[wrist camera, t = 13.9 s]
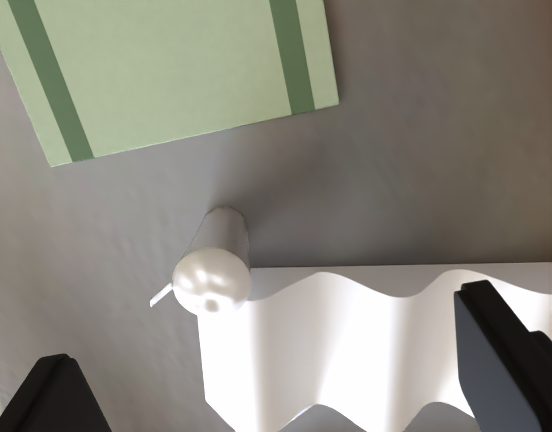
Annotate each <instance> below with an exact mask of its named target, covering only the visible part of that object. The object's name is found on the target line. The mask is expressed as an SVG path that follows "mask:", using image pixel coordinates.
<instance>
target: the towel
mask: <svg viewBox="0 0 552 432" xmlns="http://www.w3.org/2000/svg"><path fill="white" fill-rule="evenodd" d="M0 49H1V52H2V54H3V57H4V59H5V61H6V64H7V66H8V68H9V71H10V73H11V75H12V78H13V80H14V82H15V85H16V87H17V89H18V92H19V94H20V96H21V99H22V101H23V104H24V106H25V108H26V111H27V113H28V115H29V118H30V120H31V122H32V125H33V127H34V129H35V132H36V134H37V136H38V139H39V141H40V143H41V146H42V148H43V151H44V153H45V155H46V158H47V160H48V162H49V165H50V167H53V166H58V165H62V164H67V163H71V162H77V161H82V160H87V159H91V158H95V157H99V156H104V155H108V154H113V153H117V152H122V151H127V150H131V149H136V148H140V147H145V146H150V145H154V144H159V143H163V142H168V141H173V140H177V139H182V138H187V137H191V136H196V135H200V134H205V133H210V132H214V131H219V130H223V129H228V128H233V127H237V126H242V125H246V124H251V123H256V122H260V121H265V120H269V119H274V118H279V117H283V116H288V115H294V114H299V113H304V112H308V111H313V110H316V109H320V108H325V107H329V106H334V105H339V97H338V91H337V85H336V78H335V72H334V66H333V59H332V53H331V46H330V40H329V34H328V27H327V21H326V14H325V8H324V2H323V0H0Z"/></svg>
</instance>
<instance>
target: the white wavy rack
mask: <svg viewBox="0 0 552 432" xmlns="http://www.w3.org/2000/svg"><path fill="white" fill-rule="evenodd" d="M250 273H251V292H250V295H249V298H248V299H247V301H246V302H245V303H244V304H243V306H242V307H241V308H240V309H239V310H238V311H237V312H236V313H234V314H232V315H230V316H227V317H221V318H213V317H203V316H199V315H197V316H198V326H199V336H200V346H201V356H202V366H203V377H204V387H205V397H206V401H207V402H208V403H209V404H210V405H211V406H212V407H213V408H214V410H215V411H216V412H217V413H218V414H219V415H220V416H221V417H222V418H223V419H224V420H225V421H226V422H227V423H228V424H229V425H230V426H231V427H232V428H233V429H235V430H236V431H237V432H278V431H279V430H281V429H282V428H283V427H284V426H285V425H287V424H288V423H289V422H291V421H292V420H294V419H295V418H296V417H298V416H299V415H301V414H302V413H303V412H305V411H306V410H308V409H309V408H311V407H312V406H313V405H315V404H323V405H327V406H329V407H331V408H334V409H335V410H337V411H339V412H340V413H342V414H343V415H345V416H346V417H347V418H349V419H350V420H352V421H353V422H354V423H356V424H357V425H358V426H360V427H361V428H362V429H364V430H366V431H368V432H403V431H404V430H405V428H406V427H407V426H408V425H409V423H410V422H411V421H412V420H413V419H414V417H415V416H416V415H417V414H418V412H419V411H420V410H421V409H422V407H424V406H425V405H426V404H428V403H430V402H435V401H437V402H444V403H448V404H450V405H453V406H455V407H457V408H459V409H461V410H462V411H464V412H466V413H467V414H469V415H471V416H472V417H474V415H473V413H472V411H471V409H470V407H469V405H468V403H467V401H466V399H465V397H464V395H463V392H462V390H461V387H460V383H459V378H458V363H457V346H456V329H455V312H454V292H455V291H459V290H461V284H463V283H468V282H474V281H480V280H485V279H486V280H489V281H490V282H491V284H492V285H493V286H494V287H495V289H496V290H497V291H498V293H499V294H500V295H501V296H502V298H503V299H504V300H505V301H506V303H507V304H508V305H509V306H510V308H511V309H512V310H513V311H514V313H515V314H516V315H517V317H518V318H519V319H520V320H521V322H522V323H523V324H524V325H525V327H526V328H527V329H528V330H529V332H531V331H537V330H540V331H542V332H544V333H545V334H546V335H547V336H548V337H549V338H550V339H551V341H552V262H536V263H486V264H436V265H386V266H335V267H285V268H250ZM474 418H475V417H474Z"/></svg>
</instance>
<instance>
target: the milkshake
mask: <svg viewBox="0 0 552 432" xmlns="http://www.w3.org/2000/svg"><path fill="white" fill-rule="evenodd" d="M171 289H174V293H175V295H176V298H177V299H178V301H179V302H180V303H181V305H182V306H184V307H185V308H186V309H188V310H189V311H191V312H192V313H194V314H196V315H199V316H203V317H213V318H221V317H227V316H230V315H232V314H234V313H236V312H237V311H238V310H239V309H240V308H241V307H242V306H243V304H244V303H245V302H246V301H247V299H248V298H249V295H250V292H251V273H250V265H249V252H248V234H247V226H246V223H245V220H244V218H243V215H242V214H240V213H239V212H237V211H236V210H235V209H233V208H232V207H216V208H215V209H213V210H212V211H210V212H209V213H207V214H206V215H205V217H204V219H203V221H202V223H201V224H200V226H199V228H198V230H197V232H196V234H195V236H194V238H193V239H192V241H191V243H190V245H189V247H188V248H187V250H186V251H185V253H184V255H183V256H182V258H181V260H180V261H179V263H178V264H177V266H176V267H175V270H174V273H173V280H172V282H170V283H169V284H168V285H167V286H166V287H164V288H163V289H162V290H161V291H160V292H158V293H157V294H156V295H155V296H153V297H152V298H151V299H150V305H151V306H153V305H154V304H155V303H156V302H157V301H158V300H160V299H161V298H162V297H163V296H164V295H166V294H167V293H168V292H169V291H170V290H171Z"/></svg>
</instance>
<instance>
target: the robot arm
mask: <svg viewBox="0 0 552 432" xmlns="http://www.w3.org/2000/svg"><path fill="white" fill-rule="evenodd" d="M454 312H455V329H456V346H457V363H458V378H459V383H460V387H461V390H462V392H463V395H464V397H465V399H466V401H467V403H468V405H469V407H470V409H471V411H472V413H473V415H474V417H475V419H476V421H477V423H478V425H479V427H480V429H481V431H482V432H552V341H551V339H550V338H549V337H548V336H547V335H546V334H545V333H544V332H542V331H540V330H537V331H531V332H529V330H528V329H527V328H526V327H525V325H524V324H523V323H522V322H521V320H520V319H519V318H518V317H517V315H516V314H515V313H514V311H513V310H512V309H511V308H510V306H509V305H508V304H507V303H506V301H505V300H504V299H503V298H502V296H501V295H500V294H499V293H498V291H497V290H496V289H495V287H494V286H493V285H492V284H491V282H490V281H489V280H486V279H485V280H480V281H474V282H468V283H463V284H461V290H459V291H455V292H454ZM0 432H112V431H111V429H110V427H109V425H108V423H107V421H106V419H105V417H104V415H103V413H102V411H101V409H100V407H99V405H98V403H97V401H96V399H95V397H94V395H93V393H92V391H91V389H90V387H89V385H88V383H87V381H86V379H85V377H84V375H83V373H82V371H81V369H80V367H79V365H78V363H77V361H76V360H75V359H74V358H70V357H69V356H68V355H67V354H57V355H52V356H46V357H42V358H40V359H39V360H38V361H37V362H36V364H35V365H34V367H33V368H32V370H31V371H30V373H29V374H28V376H27V377H26V379H25V380H24V382H23V383H22V385H21V386H20V388H19V389H18V391H17V392H16V394H15V395H14V397H13V398H12V400H11V401H10V403H9V404H8V406H7V407H6V409H5V410H4V412H3V413H2V415H1V416H0Z"/></svg>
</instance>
